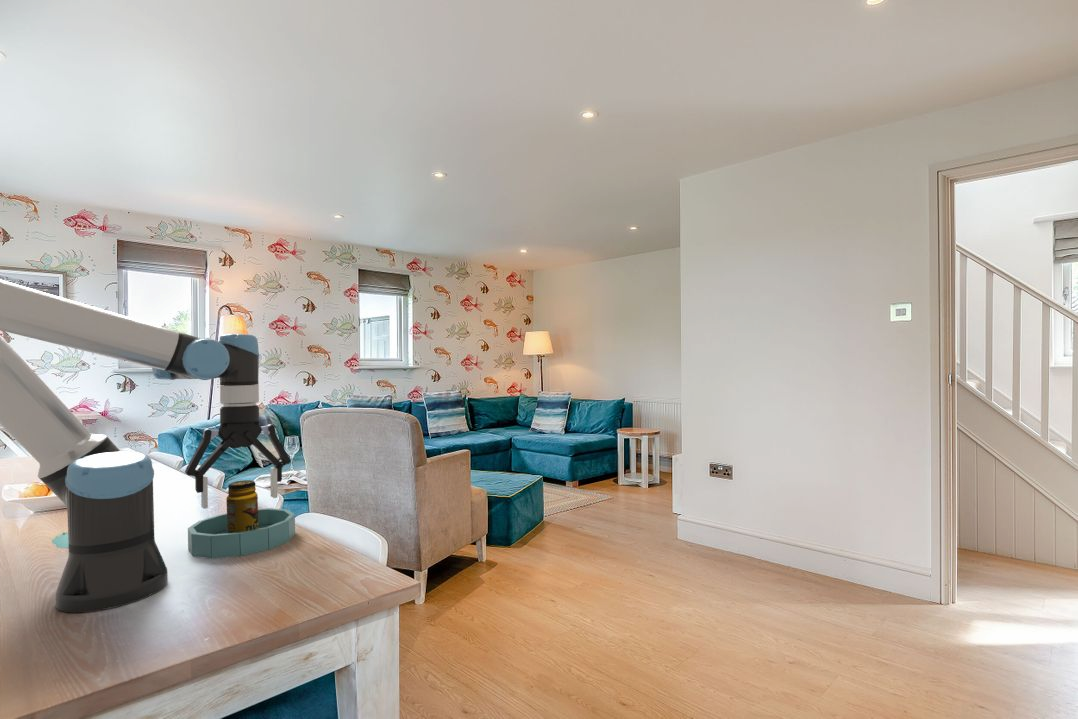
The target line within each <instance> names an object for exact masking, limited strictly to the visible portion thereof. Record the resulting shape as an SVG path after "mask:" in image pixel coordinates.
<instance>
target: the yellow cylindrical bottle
mask: <svg viewBox="0 0 1078 719" xmlns="http://www.w3.org/2000/svg"><path fill="white" fill-rule="evenodd" d="M256 484H257V483H256V482H255V481H254V480H251V479H249V480H248V479H246V480H244V479H243V480H236V481H233V482H230V483H229V484H227V485H228V486H227V487H228V491H227V494H228V495H227V496H226V513H227V533H239V532H245V531H250V530H255V529H258V509H259V505H258V504H259V502H258V500H259V499H258V498H259V496H258V492H256V490H257V489H256Z"/></svg>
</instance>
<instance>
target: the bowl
mask: <svg viewBox="0 0 1078 719" xmlns="http://www.w3.org/2000/svg"><path fill="white" fill-rule="evenodd" d="M295 535H296V514H295V513H294V512H292V511H291V510H289V509H285V508H284V509H283V508H282V509H281V508H275V507H274V508H272V507H268V508H266V507H265V508H258V529H255V530H250V531H245V532H239V533H227V512H225V513H220V514H218V515H214V516H211V517H207V518H204V519H201V520H198V521H196V522H195V523H193V524H192V525H191V526H189V527H188V528H187V546H188V547H187V548H188V552H189V553H190V555H191V556H192V557H196V558H205V559H221V558H222V559H223V558H233V557H234V558H235V557H241V556H242V557H243V556H247V555H251V554H257V553H260V552H264V551H269V550H271V549H274V548H276V547H279V546H282V545H284V544H286V543H289V542H290V541H291V539H292V538H293V537H295Z"/></svg>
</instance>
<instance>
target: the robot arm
mask: <svg viewBox="0 0 1078 719" xmlns="http://www.w3.org/2000/svg"><path fill="white" fill-rule="evenodd" d="M0 331H1V332H7V333H9V334H13V335H17V336H21V337H26V338H30V339H34V340H38V341H43V342H47V343H51V344H55V345H58V346H63V347H66V348H71V349H75V350H80V351H82V352H83V351H84V352H87V353H92V354H96V355H100V356H103V357H107V358H112V359H116V360H119V361H120V360H121V361H124V362H128V363H131V364H132V363H133V364H137V365H142V366H145V367H149V368H151V369H152V374H153V377H155V379H158V380H170V381H175V380H201V381H209V380H212V379H219V403H220V404H221V405H222V406H220V408H219V428H218V429H209V428H205V429H203V431H202V435H201V436H202V438H201V441H200V443H199V444H198V446H197V448H196V450H195V451H194V454H193V455H192V456H191V459H190V461H189V462H188V464H187V466H186V468H185V471H184V473H185V474H186V475H187V476H190V477H191V476H192V477H194V478H195V479H194V480H195V481H194V482H195V484H194V485H195V487H194V488H195V491H196V493H198V494H199V493H201V501H200V502H201V504H200V506H201V508H202V509H203V510H205V509H208V506H209V505H208V504H209V501H208V500H209V497H208V490H209V489H208V488H209V487H208V486H209V484H208V482H209V481H208V476H207V475H205V474H206V473H207V472H208V471H209V470H210V469H211V467H212V466H213V465H214V464H215V463H216V462H217V461H218V459H219V458H220V457H221V456H222V455H223V453H225V452H226V451H227V450H228V448H231V449H238V448H250V447H251V446H253V447H255V448H256V449H257V450H258V451H259V453H261V454H262V455H263V457H265V458H266V459H267V460H268V461H269V462H270V463H271V464H272V465H273V467H272V466H271V467H270V468H269V469H270V497H271V498H273V499H277V498H278V483H279V482H282V480H283V467H284V466H286V465H290V463H291V459H290V456H289V455H288V453H287V451H286V450H285V448H284V447H283V446H284V445H283V444H282V443H281V441H280V439H279V437H278V435H277V433H276V426H275V425H274V424H271V423H269V424H267V425H264V426H261V425H260V406H259V405H258V404H257V403H259V401H260V391H259V390H260V385H259V384H260V383H259V370H260V369H259V366H260V365H259V364H260V363H259V362H260V360H259V359H260V353H259V352H260V351H259V342H258V340H259V339H258V338H257V337H256V336H255V335H253V334H245V333H244V334H243V333H235V334H234V333H232V334H231V333H229V334H228V333H227V334H221V335H220V336H219V340H215V339H212V338H209V337H202V338H201V337H198V336H194V335H190V334H188V333H183V332H179V331H177V330H173V329H170V328H167V327H163V326H160V325H157V324H153V323H150V322H147V321H143V320H139V319H136V318H132V317H129V316H126V315H122V314H119V313H116V312H112V311H109V310H104V309H102V308H98V307H95V306H92V305H88V304H85V303H81V302H77V301H74V300H71V299H67V298H64V297H61V296H57V295H54V294H50V293H48V292H47V293H46V292H43V291H40V290H37V289H33V288H30V287H26V286H23V285H19V284H17V283H13V282H10V281H6V280H3V279H0ZM0 425H1V427H2V428H4V429H5V430H6V431H7V433H9V435H11V437H13V438H14V440H16V441H17V443H19V444H20V446H22V447H23V449H25V451H26V452H28V454H29V455H31V457H33V459H34V460H36V462H38V463H39V468H38V473H37V478H38V479H40V481H41V482H42V483H43V484H44V485H45V486H46V487H47V488H48V489H49V490H50V491H51V492H53V494H54V495H56V497H57V498H58V499H59V500H60V501H61V502H62V503H63V504H64V505H65V507H66V509H67V510H66V511H67V533H68V543H69V548H68V557H67V560H66V563H65V566H64V569H63V571H62V573H61V574H62V575H61V577H60V580H59V583H58V585H57V587H56V588H57V589H56V591H55V608H56V609H57V610H58V611H60V612H65V613H87V612H97V611H100V610H101V611H102V610H105V609H106V610H107V609H111V608H116V607H119V606H123V605H126V604H127V605H128V604H130V603H133V602H136V601H139V600H141V599H145V598H147V597H149V596H152V595H153V594H156V593H157V592H159V591H160V590H162V589H163V588H164V587H166V586H167V584H168V581H169V580H168V577H169V576H168V567H167V566H166V563H165V561H164V559H163V556H162V554H161V552H160V549H159V547H158V545H157V542H156V539H155V512H154V511H155V510H154V509H155V507H154V506H155V504H154V503H155V502H154V478H155V477H154V476H155V470H154V468H153V462H152V461H153V460H152V459H151V457H149V456H148V455H147V454H144V453H142V452H132V451H121V450H120V449H119V447H118V446H117V445H116V444H115V443H114V442H113V441H112V440H111V439H110V438H109V437H108V436H107V435H106V434H97V433H92V432H90V431H89V430H88V429H87V427H86V426H85V425H84V424H83V423H82V422H81V421H80V420H79V418H77V417H76V415H75V414H74V413H73V412H72V411H71V410H70V409H69V408H68V407H67V406H66V404H65V403H64V402H63V401H62V400H61V399H60V398H59V397H58V396H57V395H56V394H55V392H53V390H52V389H51V388H50V387H49V386H48V385H47V384H46V383H45V381H43V380H42V379H41V377H40V376H39V375H38V374H37V373H36V372H35V371H34V369H32V368H31V367H30V366H29V365H28V364H27V362H26V361H25V360H24V359H23V358H22V357H21V356H20V355H19V353H17V352H16V350H14V348H13V347H12V346H11V345H10V344H9V342H7V340H5V338H4V337H2V335H1V334H0ZM262 432H263V434H264V435H266V436H267V438H268V439H269V441H270V442H271V444H272V447H274V450H275V451H276V453H277V455H278V456H279V458H280V459H278V457H276V456H275V455H274V454H273V453H272V452H271V451H270V450H269V449H268V448H267V447H266V446H265V445H264V444H263V443H262V442H261V440H259V439H258V438H259V436H260V435H261V433H262ZM216 436H217V437H219V438H220V439H221V441H220V443H219V444H218V445H217V446H216V448H215V449H214V450H213V451H212V453H210V454H209V456H208V457H207V458H206V459H205V460H204V462H203V463H202V464H201V465H199V464H200V461H202V460H201V459H202V458H203V457H204V454H205V452H207V448H208V447H209V445H210V443H211V440H214V439H215V437H216ZM198 465H199V467H198Z"/></svg>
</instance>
